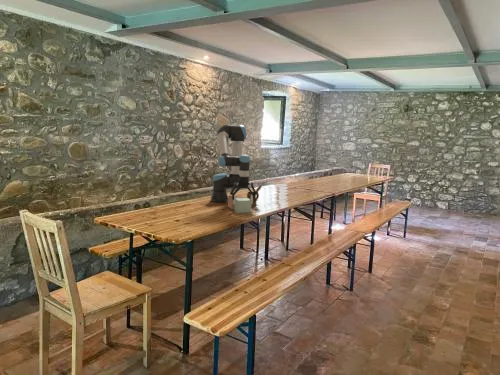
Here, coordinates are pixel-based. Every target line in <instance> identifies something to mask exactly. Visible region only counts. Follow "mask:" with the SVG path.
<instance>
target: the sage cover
mask: <svg viewBox="0 0 500 375" xmlns="http://www.w3.org/2000/svg"><path fill="white" fill-rule="evenodd" d="M251 202H252V200H250V199H249V198H247V197H244V198H235V211H236V212H238V213H237V214H248V213H247V212H251V211H252V206H251ZM235 211H234V212H235ZM236 212H235V213H236Z"/></svg>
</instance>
